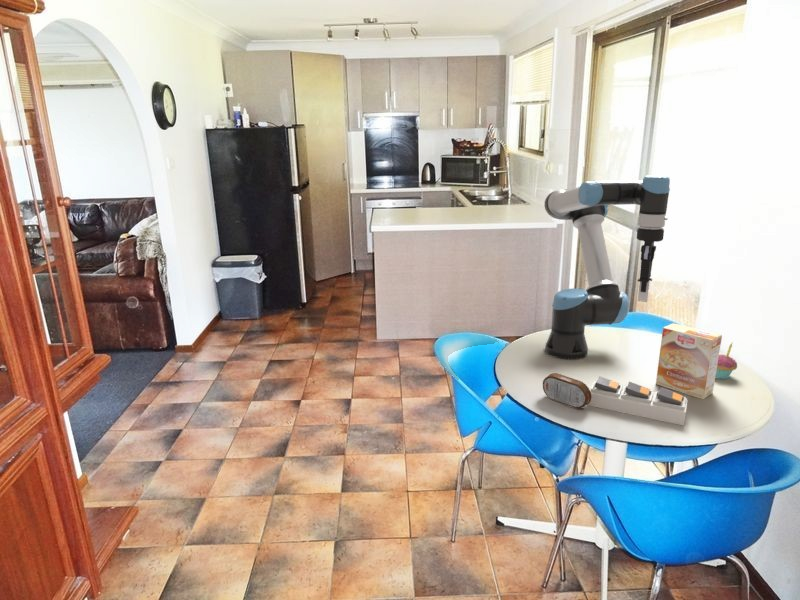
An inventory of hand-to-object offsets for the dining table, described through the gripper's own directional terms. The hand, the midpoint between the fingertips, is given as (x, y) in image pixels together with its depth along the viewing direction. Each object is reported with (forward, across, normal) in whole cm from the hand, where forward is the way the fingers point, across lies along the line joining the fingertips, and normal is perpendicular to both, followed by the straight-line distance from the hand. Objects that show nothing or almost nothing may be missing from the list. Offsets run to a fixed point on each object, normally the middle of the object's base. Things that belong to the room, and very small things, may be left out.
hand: (642, 300), depth 176 cm
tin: (+27, -29, +16) cm, 43 cm away
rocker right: (+21, -23, -12) cm, 33 cm away
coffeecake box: (+27, -2, -15) cm, 31 cm away
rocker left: (+21, -23, +5) cm, 31 cm away
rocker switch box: (+26, -23, -2) cm, 35 cm away
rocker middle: (+21, -23, -4) cm, 31 cm away
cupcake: (+27, +14, -25) cm, 39 cm away
